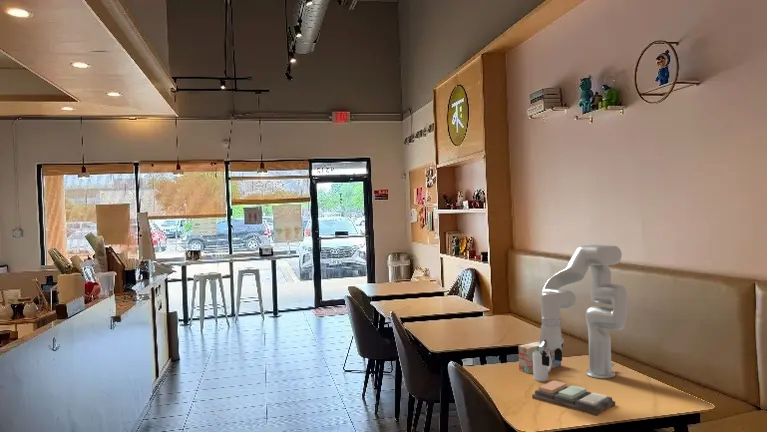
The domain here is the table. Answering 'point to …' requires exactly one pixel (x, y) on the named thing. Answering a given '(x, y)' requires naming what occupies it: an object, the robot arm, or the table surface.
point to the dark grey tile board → (574, 402)
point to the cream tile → (594, 399)
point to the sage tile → (572, 392)
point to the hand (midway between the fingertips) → (552, 362)
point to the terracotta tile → (552, 387)
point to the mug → (540, 367)
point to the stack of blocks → (527, 357)
